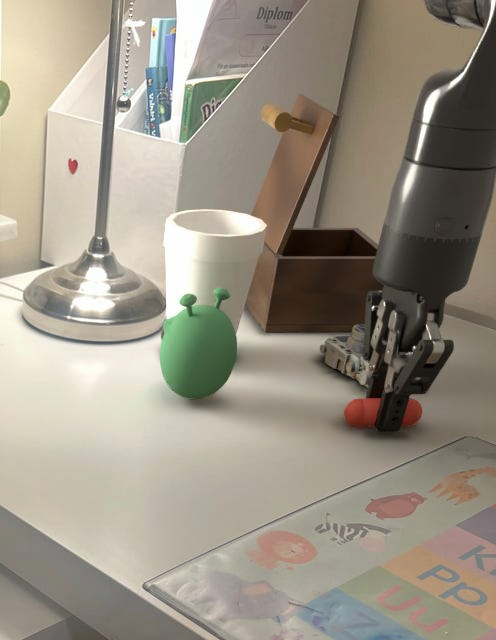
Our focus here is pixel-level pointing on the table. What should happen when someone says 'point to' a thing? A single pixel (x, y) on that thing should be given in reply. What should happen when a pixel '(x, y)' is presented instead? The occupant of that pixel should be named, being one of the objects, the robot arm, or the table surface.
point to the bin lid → (292, 165)
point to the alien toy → (198, 348)
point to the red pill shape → (367, 408)
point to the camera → (349, 355)
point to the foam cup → (211, 258)
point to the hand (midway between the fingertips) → (380, 422)
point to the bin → (314, 281)
